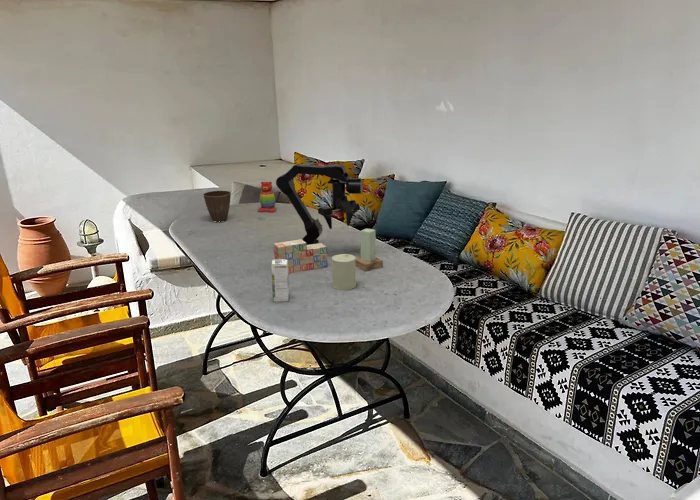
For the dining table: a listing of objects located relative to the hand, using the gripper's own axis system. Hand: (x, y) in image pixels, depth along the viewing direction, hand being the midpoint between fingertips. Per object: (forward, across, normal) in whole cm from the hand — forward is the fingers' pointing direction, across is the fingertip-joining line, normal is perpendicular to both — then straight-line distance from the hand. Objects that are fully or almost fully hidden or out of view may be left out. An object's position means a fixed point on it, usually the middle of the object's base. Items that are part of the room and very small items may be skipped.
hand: (339, 227), depth 238 cm
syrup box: (+13, -44, -31) cm, 55 cm away
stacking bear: (+13, +7, +97) cm, 98 cm away
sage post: (+10, +2, -20) cm, 22 cm away
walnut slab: (+13, +2, -20) cm, 24 cm away
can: (+13, -18, -33) cm, 40 cm away
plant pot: (+13, -26, +90) cm, 95 cm away
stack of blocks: (+13, -23, -6) cm, 27 cm away
